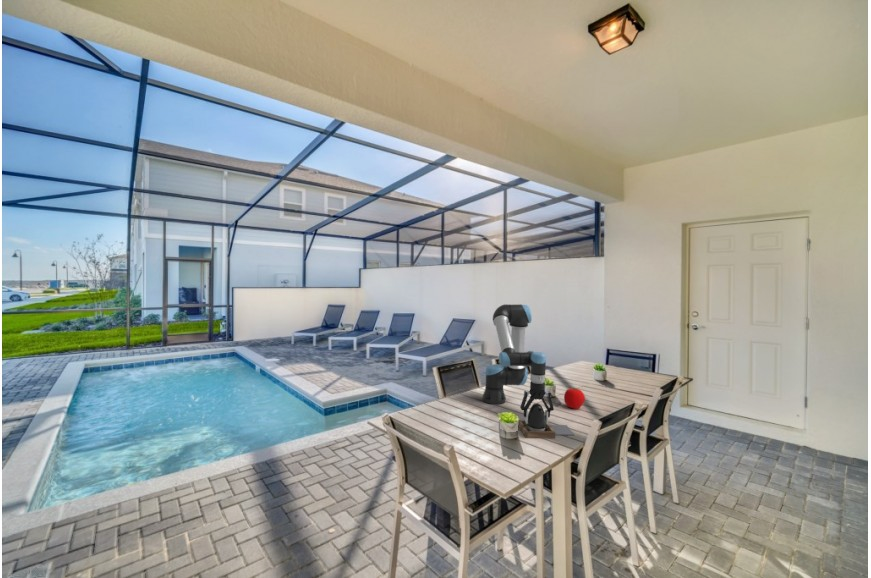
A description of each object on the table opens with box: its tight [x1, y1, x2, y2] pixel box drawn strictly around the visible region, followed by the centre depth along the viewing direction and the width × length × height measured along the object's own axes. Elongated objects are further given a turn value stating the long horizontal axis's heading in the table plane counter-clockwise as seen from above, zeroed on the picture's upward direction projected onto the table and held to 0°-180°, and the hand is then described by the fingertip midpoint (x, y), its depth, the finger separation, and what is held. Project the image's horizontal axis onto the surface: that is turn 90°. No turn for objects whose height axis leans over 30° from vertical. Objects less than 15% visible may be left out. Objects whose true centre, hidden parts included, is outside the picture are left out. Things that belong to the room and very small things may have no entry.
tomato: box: [563, 387, 586, 410], centre depth 238 cm, size 12×12×13 cm
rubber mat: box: [549, 424, 575, 436], centre depth 203 cm, size 12×11×1 cm
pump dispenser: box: [527, 403, 546, 431], centre depth 201 cm, size 10×10×15 cm
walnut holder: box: [518, 419, 556, 439], centre depth 201 cm, size 15×15×3 cm
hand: (536, 422), depth 201 cm, fingers closed on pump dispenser, 10 cm apart
